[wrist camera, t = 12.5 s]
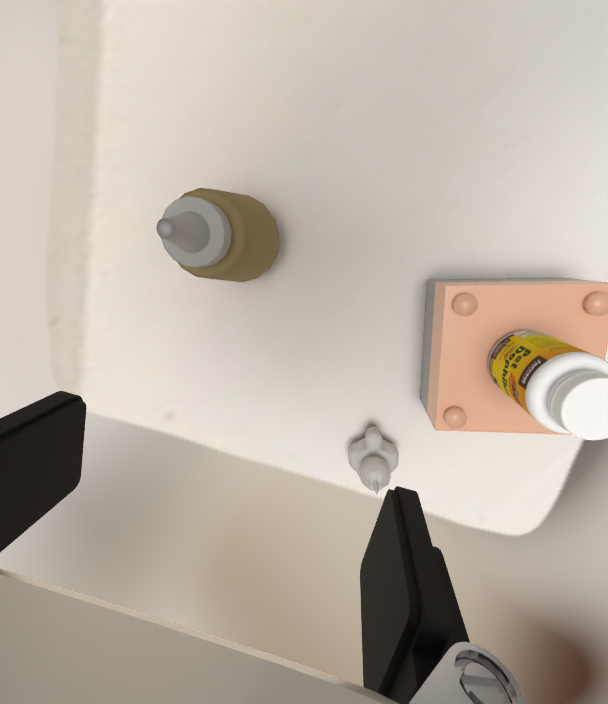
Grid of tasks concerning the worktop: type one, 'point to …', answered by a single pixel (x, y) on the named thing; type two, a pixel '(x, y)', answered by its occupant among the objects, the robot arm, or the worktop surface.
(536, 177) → the worktop surface
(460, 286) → the pink and grey block
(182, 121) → the worktop surface
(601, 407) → the supplement bottle
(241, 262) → the squeeze bottle
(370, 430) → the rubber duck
